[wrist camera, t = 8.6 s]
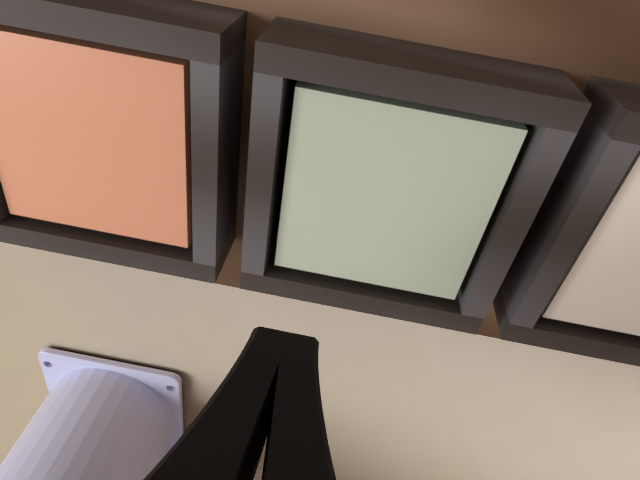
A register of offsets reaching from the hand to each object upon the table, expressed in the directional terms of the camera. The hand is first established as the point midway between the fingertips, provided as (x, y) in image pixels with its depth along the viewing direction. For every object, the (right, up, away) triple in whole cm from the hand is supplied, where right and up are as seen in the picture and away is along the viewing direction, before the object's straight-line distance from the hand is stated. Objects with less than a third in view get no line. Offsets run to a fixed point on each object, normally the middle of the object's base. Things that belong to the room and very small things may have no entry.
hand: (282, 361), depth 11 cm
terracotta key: (-6, +7, +6) cm, 11 cm away
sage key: (+3, +5, +6) cm, 8 cm away
